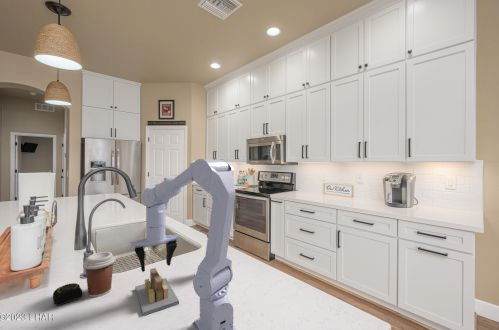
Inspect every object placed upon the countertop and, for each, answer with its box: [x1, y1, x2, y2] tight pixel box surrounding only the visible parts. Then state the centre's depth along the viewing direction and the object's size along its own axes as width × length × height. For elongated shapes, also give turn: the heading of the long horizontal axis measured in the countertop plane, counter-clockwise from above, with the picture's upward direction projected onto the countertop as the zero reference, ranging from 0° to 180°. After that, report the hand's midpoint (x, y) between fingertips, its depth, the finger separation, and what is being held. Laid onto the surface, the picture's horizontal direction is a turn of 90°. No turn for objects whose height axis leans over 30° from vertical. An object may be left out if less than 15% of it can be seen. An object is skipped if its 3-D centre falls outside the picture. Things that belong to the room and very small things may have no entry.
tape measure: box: [52, 282, 83, 306], centre depth 72 cm, size 7×7×4 cm
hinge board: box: [135, 275, 180, 317], centre depth 74 cm, size 16×10×4 cm, turn 34°
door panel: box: [149, 267, 162, 302], centre depth 74 cm, size 10×2×6 cm, turn 34°
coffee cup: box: [82, 251, 117, 298], centre depth 76 cm, size 9×9×12 cm
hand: (156, 267), depth 74 cm, fingers open, 7 cm apart
